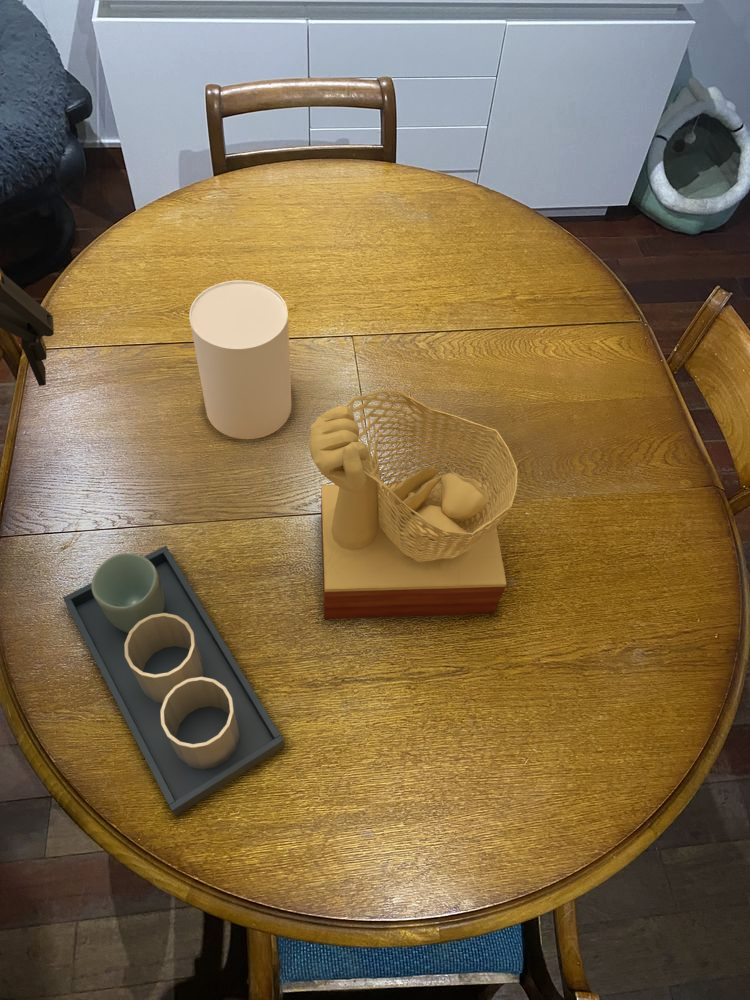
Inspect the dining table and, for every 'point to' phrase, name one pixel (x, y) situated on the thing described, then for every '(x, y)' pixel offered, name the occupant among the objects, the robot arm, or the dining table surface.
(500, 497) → the basket
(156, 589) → the cup
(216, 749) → the cup
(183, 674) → the cup
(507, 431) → the dining table surface
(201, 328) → the canister
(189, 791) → the tray
